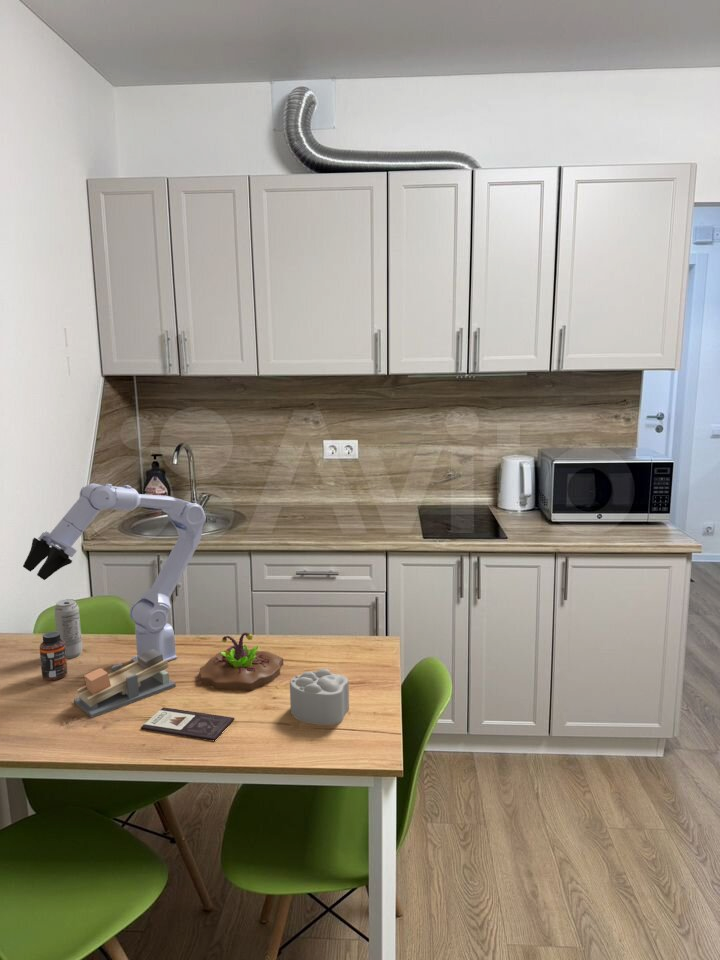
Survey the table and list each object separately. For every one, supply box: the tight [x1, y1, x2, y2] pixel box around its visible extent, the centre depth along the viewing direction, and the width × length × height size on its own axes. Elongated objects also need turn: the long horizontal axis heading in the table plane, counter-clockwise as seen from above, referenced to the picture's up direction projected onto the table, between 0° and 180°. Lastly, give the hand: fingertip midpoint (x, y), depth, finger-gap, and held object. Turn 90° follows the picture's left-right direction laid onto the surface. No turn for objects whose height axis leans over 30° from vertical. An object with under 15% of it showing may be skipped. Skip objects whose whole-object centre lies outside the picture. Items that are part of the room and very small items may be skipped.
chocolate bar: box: [140, 707, 235, 742], centre depth 156 cm, size 9×1×18 cm
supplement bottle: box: [39, 631, 68, 681], centre depth 179 cm, size 6×6×11 cm
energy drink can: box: [54, 598, 83, 660], centre depth 191 cm, size 6×6×15 cm
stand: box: [73, 663, 177, 719], centre depth 170 cm, size 21×10×6 cm, turn 133°
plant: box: [198, 632, 284, 692], centre depth 180 cm, size 20×20×11 cm
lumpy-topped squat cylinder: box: [289, 668, 350, 726], centre depth 160 cm, size 10×13×9 cm
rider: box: [83, 667, 111, 695], centre depth 165 cm, size 4×4×4 cm
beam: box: [76, 649, 169, 707], centre depth 169 cm, size 20×6×5 cm, turn 133°
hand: (33, 573), depth 164 cm, fingers open, 7 cm apart
